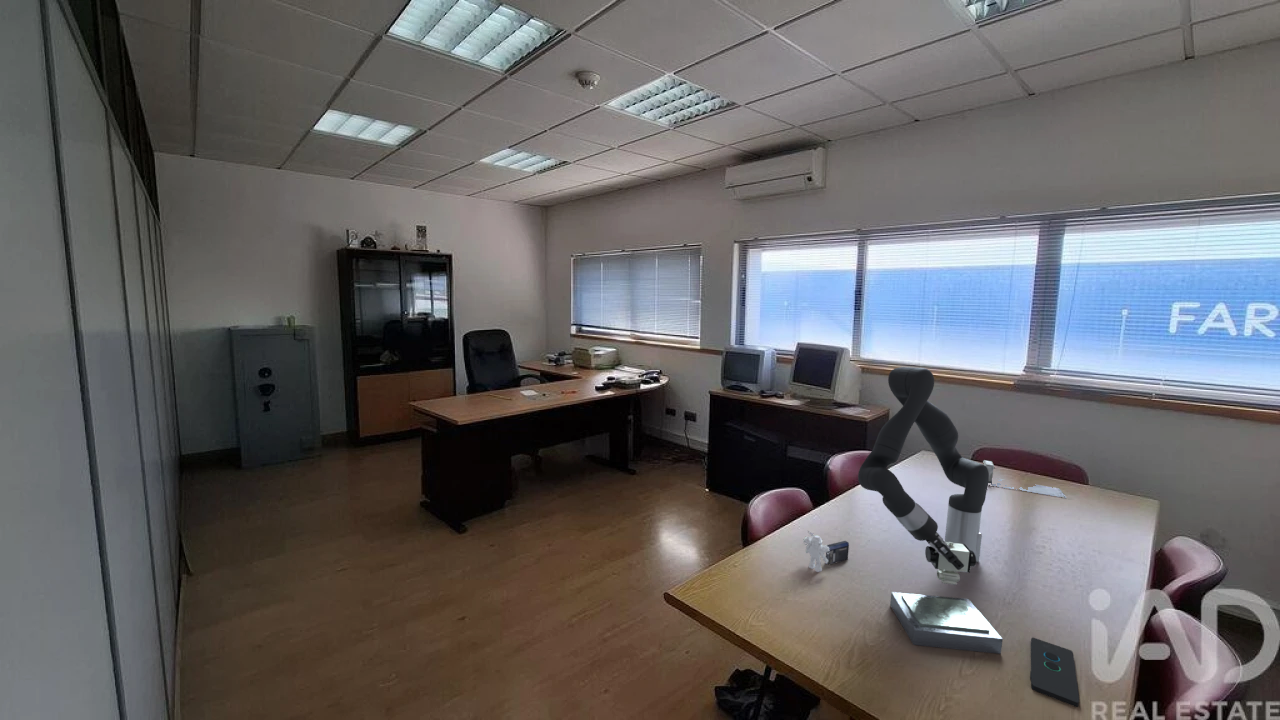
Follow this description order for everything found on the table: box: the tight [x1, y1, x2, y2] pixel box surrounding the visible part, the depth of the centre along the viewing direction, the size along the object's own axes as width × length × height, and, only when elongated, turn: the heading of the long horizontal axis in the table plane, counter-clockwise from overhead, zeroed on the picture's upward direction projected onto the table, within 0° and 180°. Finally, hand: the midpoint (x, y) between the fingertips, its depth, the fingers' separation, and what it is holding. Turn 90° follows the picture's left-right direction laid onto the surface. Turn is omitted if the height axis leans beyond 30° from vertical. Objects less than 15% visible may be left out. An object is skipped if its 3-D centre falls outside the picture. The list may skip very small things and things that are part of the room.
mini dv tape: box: [825, 540, 850, 565], centre depth 161 cm, size 8×2×6 cm, turn 114°
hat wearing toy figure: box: [803, 530, 830, 573], centre depth 156 cm, size 9×4×12 cm, turn 35°
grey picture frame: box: [889, 591, 1003, 655], centre depth 129 cm, size 20×16×5 cm
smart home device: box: [1029, 637, 1080, 708], centre depth 115 cm, size 8×2×20 cm
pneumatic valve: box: [924, 540, 977, 586], centre depth 143 cm, size 6×12×12 cm, turn 78°
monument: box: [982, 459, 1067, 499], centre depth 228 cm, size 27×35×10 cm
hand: (955, 561), depth 142 cm, fingers closed on pneumatic valve, 5 cm apart
